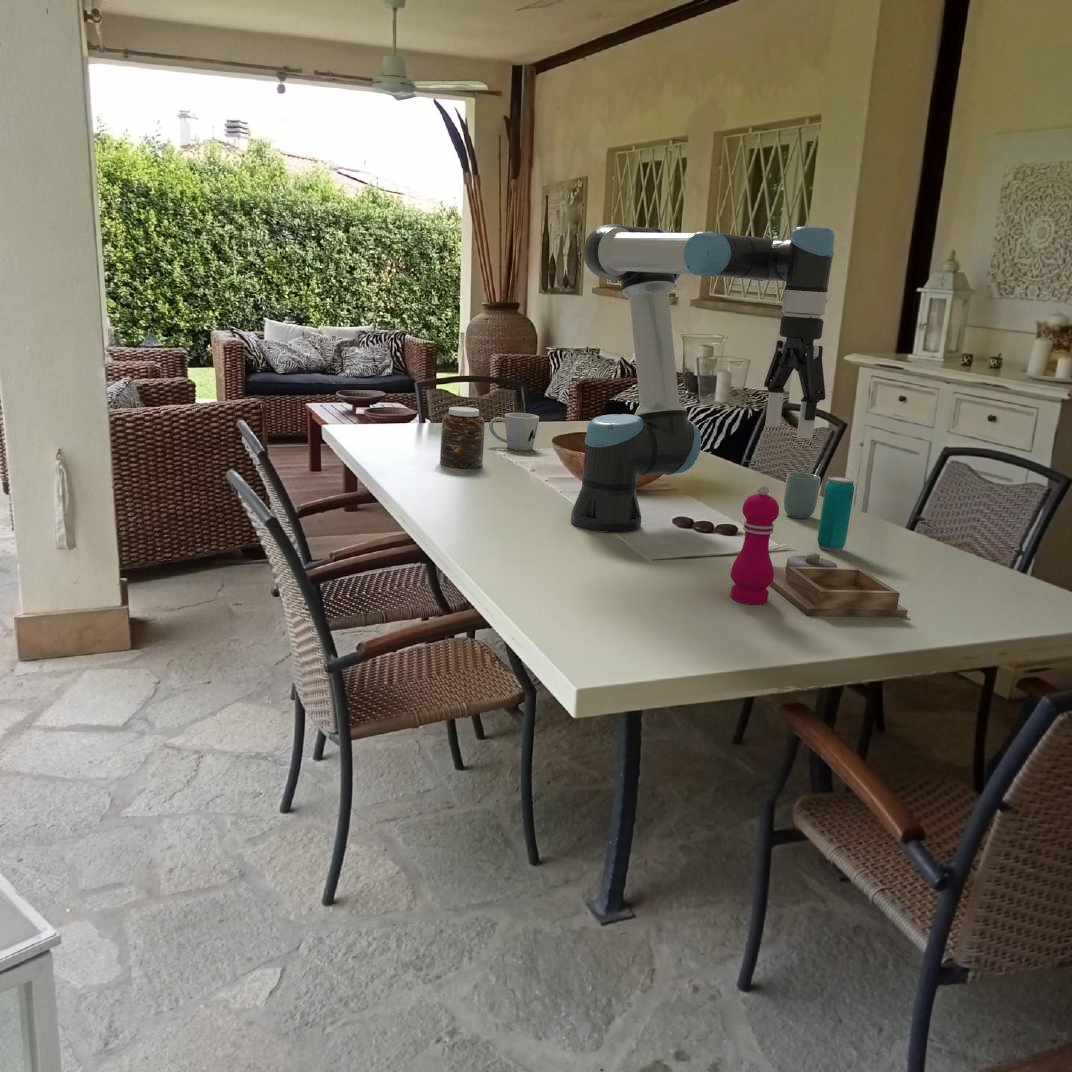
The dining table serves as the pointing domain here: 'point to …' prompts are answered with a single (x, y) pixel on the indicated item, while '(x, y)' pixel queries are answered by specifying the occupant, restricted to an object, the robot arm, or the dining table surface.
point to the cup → (801, 494)
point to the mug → (518, 430)
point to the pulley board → (834, 589)
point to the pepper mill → (755, 550)
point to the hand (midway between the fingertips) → (787, 432)
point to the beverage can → (835, 513)
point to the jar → (462, 438)
